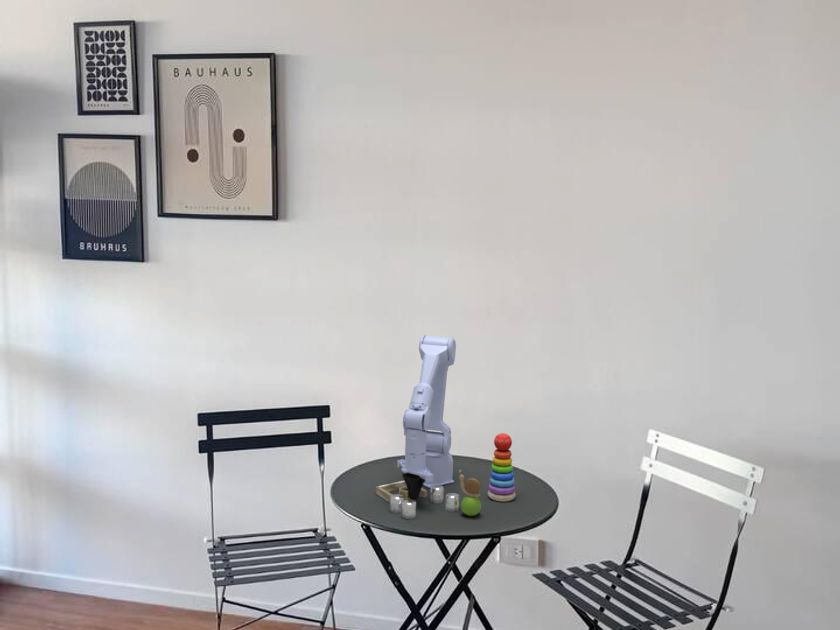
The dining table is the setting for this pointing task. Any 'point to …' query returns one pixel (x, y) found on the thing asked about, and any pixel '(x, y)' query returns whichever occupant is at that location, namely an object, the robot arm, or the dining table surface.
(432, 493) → the cylinder
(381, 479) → the dining table surface
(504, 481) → the stacking toy
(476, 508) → the snail figurine
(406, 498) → the brass nut
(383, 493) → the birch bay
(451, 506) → the cylinder
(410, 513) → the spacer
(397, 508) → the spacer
